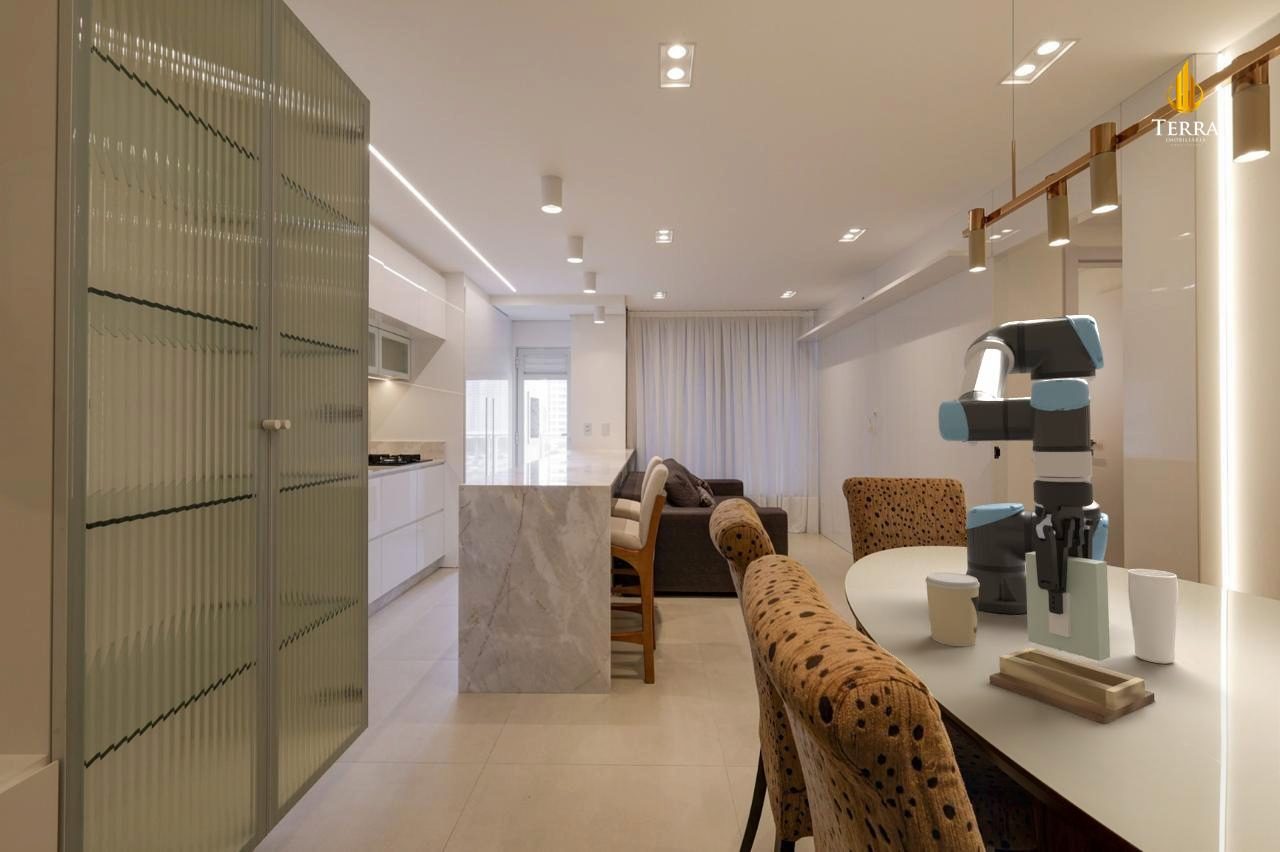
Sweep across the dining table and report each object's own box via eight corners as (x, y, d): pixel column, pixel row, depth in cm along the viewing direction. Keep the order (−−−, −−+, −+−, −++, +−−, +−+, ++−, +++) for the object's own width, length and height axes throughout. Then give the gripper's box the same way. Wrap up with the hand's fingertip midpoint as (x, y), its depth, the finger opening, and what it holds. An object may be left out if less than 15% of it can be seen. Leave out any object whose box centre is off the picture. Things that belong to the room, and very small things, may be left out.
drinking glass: (1132, 649, 110) (1129, 566, 111) (1182, 658, 106) (1179, 572, 106) (1127, 659, 106) (1124, 573, 106) (1178, 669, 101) (1175, 579, 101)
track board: (1040, 666, 103) (1039, 644, 103) (1154, 701, 89) (1153, 676, 89) (989, 683, 97) (989, 659, 97) (1104, 723, 83) (1103, 696, 83)
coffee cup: (988, 649, 112) (986, 583, 112) (934, 646, 114) (932, 582, 114) (971, 633, 121) (970, 572, 121) (921, 630, 123) (920, 571, 123)
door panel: (1038, 638, 98) (1036, 551, 99) (1110, 657, 89) (1106, 561, 90) (1028, 641, 97) (1025, 553, 97) (1099, 661, 88) (1096, 563, 88)
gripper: (1064, 476, 101) (1069, 618, 100) (1006, 480, 93) (1010, 634, 93) (1117, 478, 94) (1122, 630, 94) (1059, 483, 87) (1064, 648, 86)
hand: (1066, 632), depth 93 cm, fingers closed on door panel, 3 cm apart
